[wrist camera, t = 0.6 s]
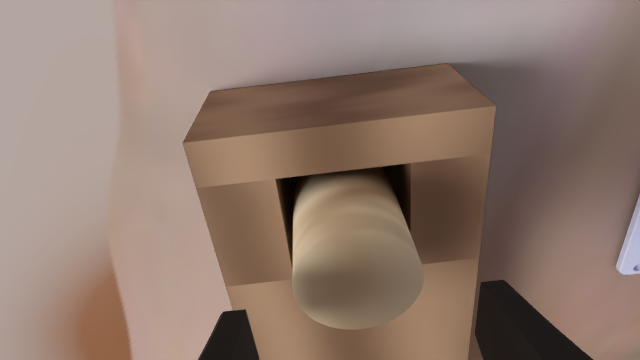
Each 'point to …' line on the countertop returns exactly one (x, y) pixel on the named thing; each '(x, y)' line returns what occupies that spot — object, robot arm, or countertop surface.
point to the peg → (352, 250)
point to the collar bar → (341, 155)
